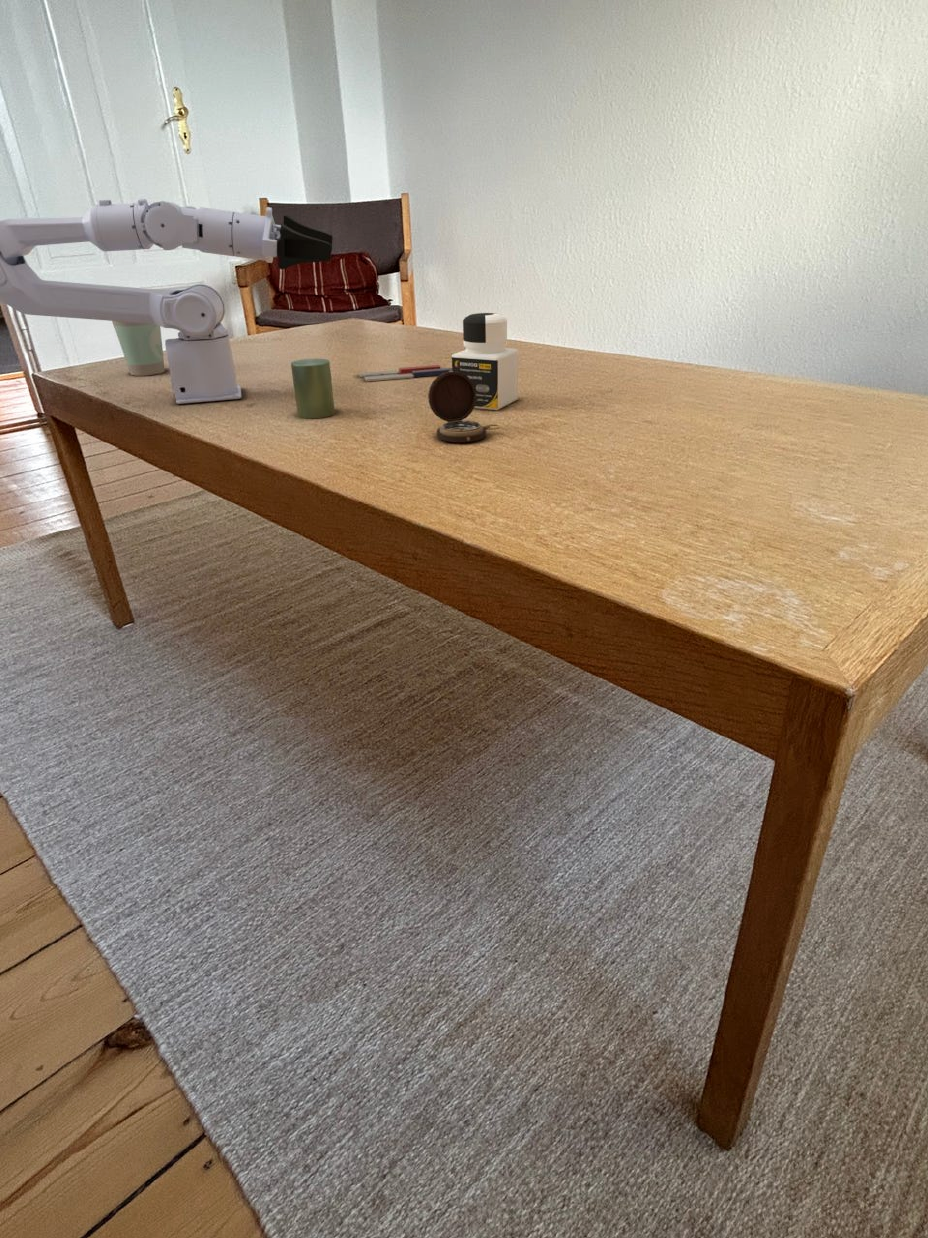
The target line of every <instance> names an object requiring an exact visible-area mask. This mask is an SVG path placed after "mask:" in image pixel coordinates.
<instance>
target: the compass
mask: <svg viewBox="0 0 928 1238" xmlns="http://www.w3.org/2000/svg"><path fill="white" fill-rule="evenodd" d="M431 382H432V383H431V384H430V387H429V389H428V395H427V396H428V397H427V398H428V404H429V407H430V409H431V411H432V412H433V414H434V415H435V416H436V417H437V418H439V419H440V420H441V421H445V423H443V424H442V425H440V427H438V428H437V429H436V437H437V438H438V439H439V440H440V441H443V442H448V443H460V444H461V443H472V442H477V441H480V440H482V439H484V438H485V437H486V436H487V430H498V429H500V428H501V426H500V425H499V424H487V425H483V424H481V423H480V422H478V421H474V420H465V419H467V418H468V417H470V415H471V413H473V411H474V409H475V408H474V407H475V404H476V400H477V397H476V389H475V386H474V384H473V382H472V381H471V379H470V378H468V377H467V376H466V375H465V374H462V373H460V372H454V371H452V370H450V371H449V372H445V373H443V374H441V375H438V376H436V377H435V379H433V381H431Z"/></svg>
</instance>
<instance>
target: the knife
mask: <svg viewBox="0 0 928 1238" xmlns="http://www.w3.org/2000/svg"><path fill="white" fill-rule="evenodd" d="M450 370H452V367H446V368H445V367H443V368H442V367H441V368H440V369H430V370H418V371H412V373H409V374H400V373H398V374H397V375H385V376H373V377H364V380H365V382H366V383H368V382H378V381H379V382H381V381H392V380H403V379H414V378H425V377H438V376H439V375H441V374H443V373H445V372H449V371H450Z"/></svg>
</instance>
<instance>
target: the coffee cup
mask: <svg viewBox="0 0 928 1238" xmlns="http://www.w3.org/2000/svg"><path fill="white" fill-rule="evenodd" d="M111 322H112V325H113V328H114V331H115V334H116V337H117V339H118V342H119V345H120V348H121V351H122V355H123V357H124V359H125V362H126V365H127V368H128V370H129V373H130V375H132V376H136V377H145V376H155V375H159V374H162V373H164V372H165V371H166V370H165V369H166V368H165V359H164V349H163V339H162V329H161V328H162V327H161V326H159V325H156V324H148V323H134V322H121V321H111Z"/></svg>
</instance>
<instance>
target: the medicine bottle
mask: <svg viewBox="0 0 928 1238" xmlns="http://www.w3.org/2000/svg"><path fill="white" fill-rule="evenodd" d="M462 336H463V338H462V339H463V341H462V342H463V347H465V349H464V350H462V351H459V352H455V353H453V354H452V355H451V368H452V371H454V372H460V373H462V374H465V375H466V376H467V377H468V378H470V379H471V381H472V382H473V384H474V386H475V389H476V397H477V400H476V404H475V407H474V409H477V410H489V411H499V410H501V409H503V408H504V407H507V406H508V405H510V404H512V403H514V402H516V401H517V400H518V399H519V350H518V348H511V347H506V346H508V318H507V317H506V316H505V315H503V314H501V313H496V312H478V313H470V314H469V315H467V316H466V317H464V318H463V320H462Z"/></svg>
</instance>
